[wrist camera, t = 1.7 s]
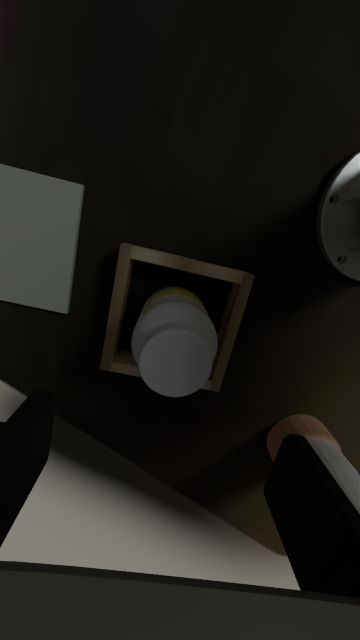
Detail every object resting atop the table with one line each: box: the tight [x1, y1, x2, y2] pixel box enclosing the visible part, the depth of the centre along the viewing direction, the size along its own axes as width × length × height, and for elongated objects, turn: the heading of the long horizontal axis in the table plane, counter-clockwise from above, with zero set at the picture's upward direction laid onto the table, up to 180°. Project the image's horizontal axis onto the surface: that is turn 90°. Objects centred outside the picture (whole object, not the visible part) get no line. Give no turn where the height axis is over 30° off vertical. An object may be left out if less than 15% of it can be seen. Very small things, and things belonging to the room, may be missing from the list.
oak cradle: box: [100, 243, 255, 392], centre depth 27 cm, size 12×12×3 cm
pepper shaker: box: [266, 414, 360, 514], centre depth 24 cm, size 7×7×19 cm
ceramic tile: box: [0, 164, 84, 314], centre depth 25 cm, size 11×12×1 cm
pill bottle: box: [132, 286, 218, 397], centre depth 22 cm, size 6×6×12 cm
